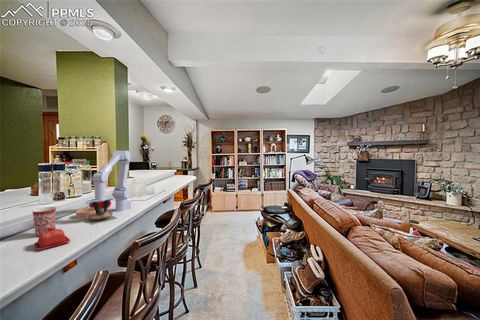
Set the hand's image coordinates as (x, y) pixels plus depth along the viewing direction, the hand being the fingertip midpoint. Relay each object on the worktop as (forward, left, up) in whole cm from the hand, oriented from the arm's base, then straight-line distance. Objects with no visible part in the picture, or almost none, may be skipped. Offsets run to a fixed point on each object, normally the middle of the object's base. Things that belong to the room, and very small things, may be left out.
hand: (101, 213), depth 127 cm
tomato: (-8, -27, -5) cm, 29 cm away
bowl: (+4, -14, -4) cm, 15 cm away
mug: (+25, +1, -5) cm, 26 cm away
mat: (0, 0, -4) cm, 4 cm away
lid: (0, 0, -3) cm, 3 cm away
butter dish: (+26, +20, -5) cm, 33 cm away
